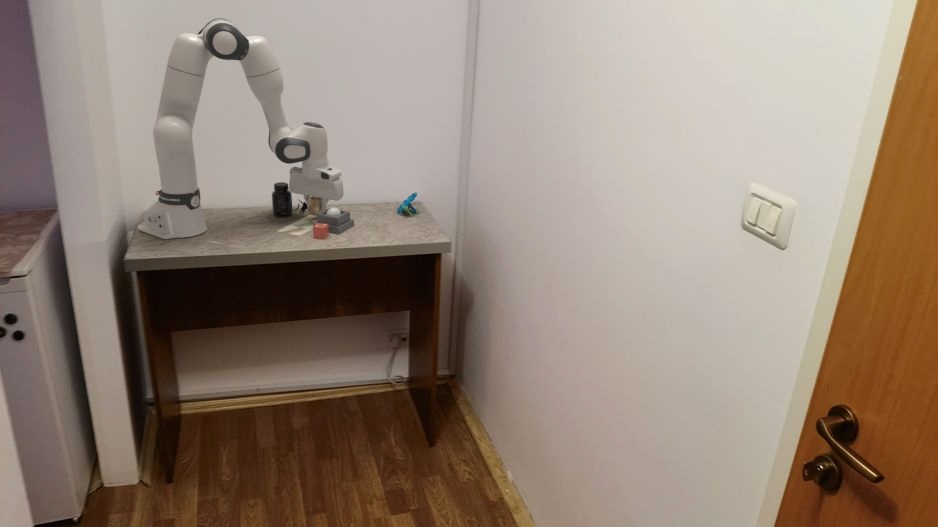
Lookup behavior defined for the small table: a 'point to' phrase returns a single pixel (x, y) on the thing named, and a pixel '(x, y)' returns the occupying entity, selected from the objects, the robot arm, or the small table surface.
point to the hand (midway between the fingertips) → (316, 208)
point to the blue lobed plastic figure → (408, 204)
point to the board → (300, 226)
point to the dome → (333, 212)
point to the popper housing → (335, 221)
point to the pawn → (314, 205)
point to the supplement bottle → (282, 200)
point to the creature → (302, 207)
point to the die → (321, 231)
